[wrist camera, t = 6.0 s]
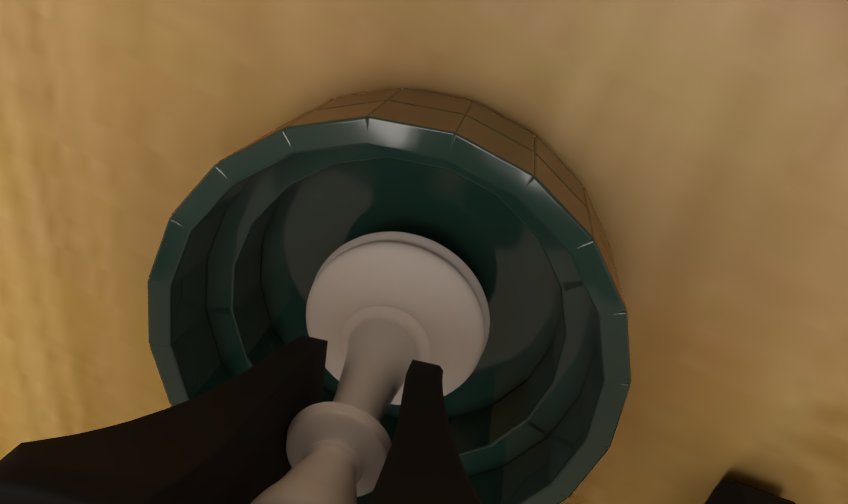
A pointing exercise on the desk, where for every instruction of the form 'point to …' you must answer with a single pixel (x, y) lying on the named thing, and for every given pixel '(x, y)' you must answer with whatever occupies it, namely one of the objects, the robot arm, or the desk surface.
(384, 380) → the chess piece
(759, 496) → the nameplate
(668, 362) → the desk surface
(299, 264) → the bowl
